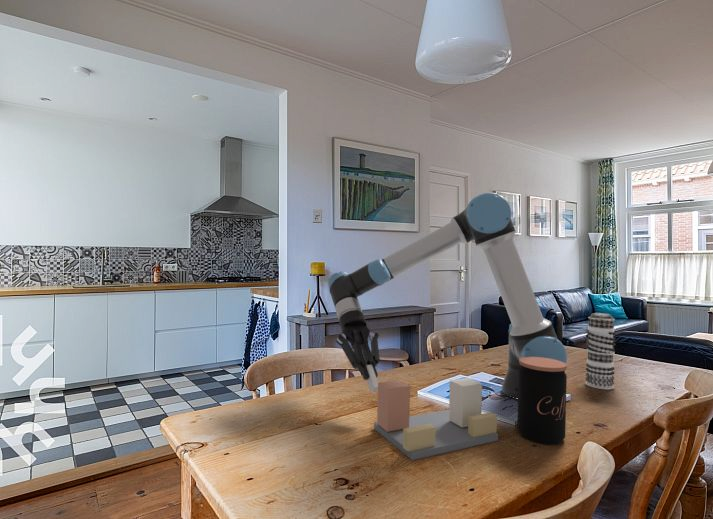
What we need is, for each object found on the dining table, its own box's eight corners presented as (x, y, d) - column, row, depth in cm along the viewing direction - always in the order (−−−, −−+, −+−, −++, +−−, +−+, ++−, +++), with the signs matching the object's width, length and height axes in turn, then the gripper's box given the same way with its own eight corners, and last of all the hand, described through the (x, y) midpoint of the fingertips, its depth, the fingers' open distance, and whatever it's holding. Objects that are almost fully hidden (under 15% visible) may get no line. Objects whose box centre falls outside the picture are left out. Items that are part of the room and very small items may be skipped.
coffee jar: (537, 448, 91) (539, 368, 91) (507, 428, 101) (509, 357, 101) (575, 443, 94) (577, 366, 94) (543, 424, 104) (545, 355, 104)
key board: (372, 428, 99) (372, 406, 99) (452, 414, 110) (453, 394, 110) (410, 460, 84) (410, 434, 84) (499, 440, 94) (500, 416, 94)
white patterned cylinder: (606, 382, 144) (608, 312, 144) (620, 390, 134) (622, 316, 134) (579, 380, 144) (581, 311, 145) (592, 388, 135) (594, 315, 135)
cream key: (448, 419, 101) (449, 380, 101) (467, 416, 104) (468, 377, 104) (462, 427, 97) (463, 386, 97) (481, 423, 99) (482, 383, 99)
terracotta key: (377, 423, 98) (378, 382, 98) (398, 419, 100) (399, 380, 100) (387, 431, 93) (388, 388, 93) (409, 427, 96) (410, 386, 96)
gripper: (366, 323, 124) (391, 393, 109) (326, 324, 119) (347, 399, 104) (374, 308, 120) (402, 380, 104) (334, 309, 114) (357, 385, 99)
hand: (375, 389), depth 104 cm, fingers closed
